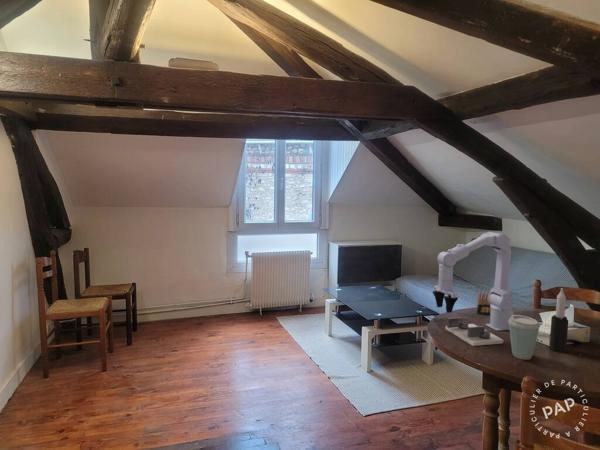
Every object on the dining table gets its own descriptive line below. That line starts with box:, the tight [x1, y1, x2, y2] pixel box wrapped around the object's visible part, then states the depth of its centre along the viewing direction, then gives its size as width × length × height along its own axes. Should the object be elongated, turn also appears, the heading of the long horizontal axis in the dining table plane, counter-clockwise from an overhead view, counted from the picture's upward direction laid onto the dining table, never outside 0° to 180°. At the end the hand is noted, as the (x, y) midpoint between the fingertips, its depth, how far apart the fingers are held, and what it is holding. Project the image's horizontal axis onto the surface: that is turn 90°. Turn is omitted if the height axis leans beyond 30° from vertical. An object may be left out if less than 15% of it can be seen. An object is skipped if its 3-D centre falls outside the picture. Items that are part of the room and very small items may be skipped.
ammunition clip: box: [476, 290, 491, 316], centre depth 208 cm, size 11×2×12 cm, turn 78°
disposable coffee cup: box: [508, 314, 541, 361], centre depth 157 cm, size 11×11×15 cm
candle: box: [549, 287, 569, 354], centre depth 164 cm, size 5×5×25 cm
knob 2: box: [467, 325, 491, 339], centre depth 173 cm, size 10×4×4 cm, turn 102°
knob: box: [446, 316, 469, 329], centre depth 184 cm, size 10×4×4 cm, turn 102°
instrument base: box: [445, 323, 504, 347], centre depth 179 cm, size 14×20×2 cm
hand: (444, 309), depth 183 cm, fingers open, 7 cm apart
